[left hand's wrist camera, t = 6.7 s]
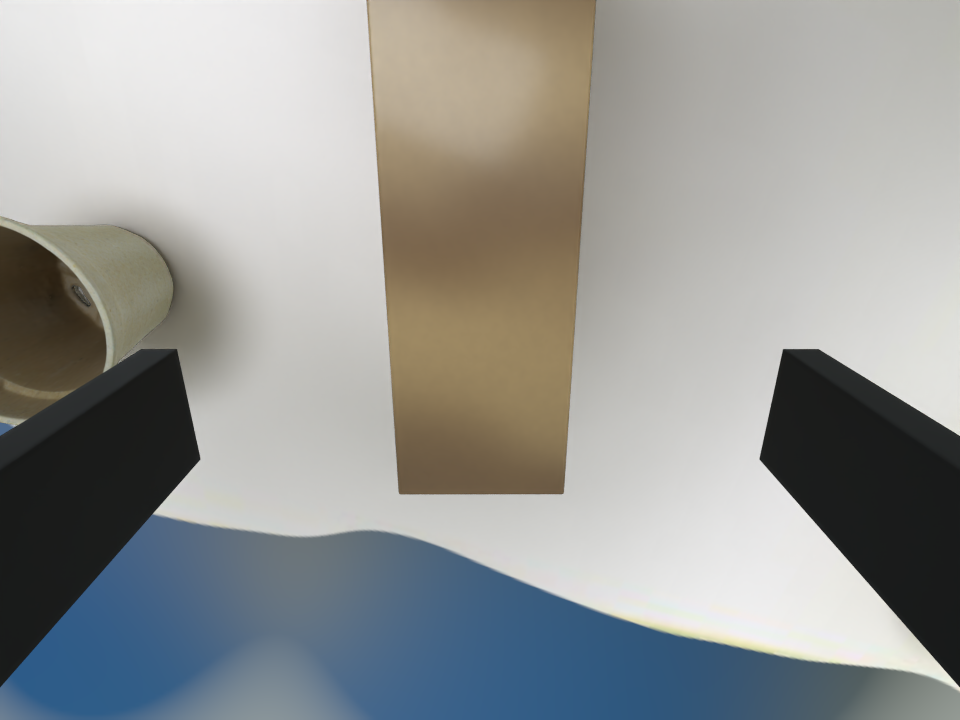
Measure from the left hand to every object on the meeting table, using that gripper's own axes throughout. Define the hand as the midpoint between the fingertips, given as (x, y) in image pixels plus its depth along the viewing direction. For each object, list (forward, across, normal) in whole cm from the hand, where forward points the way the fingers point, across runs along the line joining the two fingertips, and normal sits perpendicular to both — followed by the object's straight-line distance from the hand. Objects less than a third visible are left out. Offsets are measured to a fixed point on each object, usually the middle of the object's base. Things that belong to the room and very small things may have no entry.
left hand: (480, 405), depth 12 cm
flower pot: (+20, +20, +2) cm, 28 cm away
